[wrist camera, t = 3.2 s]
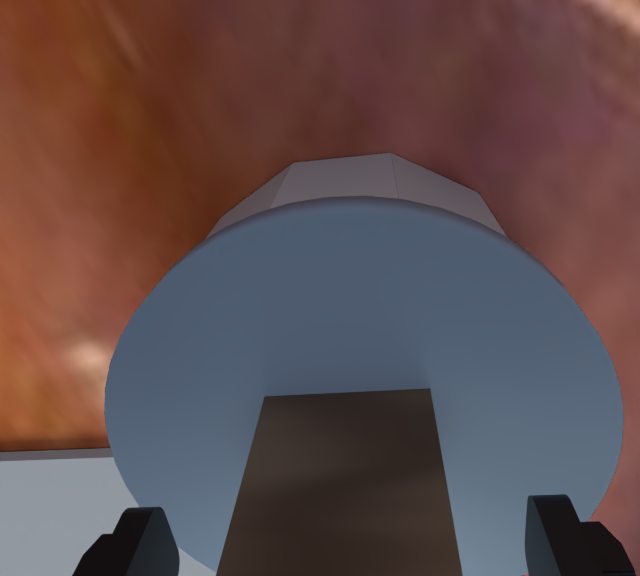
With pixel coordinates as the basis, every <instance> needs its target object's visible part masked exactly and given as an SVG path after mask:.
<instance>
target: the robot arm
mask: <svg viewBox="0 0 640 576" xmlns="http://www.w3.org/2000/svg"><path fill="white" fill-rule="evenodd" d="M524 545H525V557H526V563H527V568H528V572H529V576H636V574H635V570H634V568H633V566H632V564H631V562H630V560H629V558H628V556H627V554H626V552H625V550H624V548H623V546H622V544H621V543H620V542H619V541H618V540H617V539H616V538H615V537H614V536H613V535H612V534H611V533H610V532H609V531H608V530H607V529H606V528H605V527H604V526H603V525H602V524H601V523H600V522H580V520H579V518H578V516H577V513H576V511H575V509H574V506H573V504H572V502H571V500H570V498H569V497H568V496H567V495H566V494H556V495H529V496H528V499H527V512H526V527H525V544H524ZM179 564H180V558H179V551H178V548H177V545H176V542H175V539H174V537H173V534H172V531H171V528H170V526H169V523H168V520H167V517H166V515H165V512H164V510H163V508H161V507H134V508H127V509H126V510H125V511H124V512H123V513H122V515H121V517H120V519H119V521H118V523H117V525H116V527H115V529H114V531H113V533H112V534H102V535H101V536H100V537H99V538H98V539H97V540H96V541H95V542H94V543H93V545H92V546H91V547H90V548H89V549H88V550H87V551H86V552H85V553H84V554H83V556H82V558H81V559H80V561H79V563H78V565H77V567H76V569H75V571H74V573H73V575H72V576H178V574H179Z"/></svg>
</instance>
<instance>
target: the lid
mask: <svg viewBox="0 0 640 576" xmlns="http://www.w3.org/2000/svg"><path fill="white" fill-rule="evenodd" d="M104 415H105V422H106V429H107V436H108V441H109V444H110V448H111V451H112V454H113V458H114V461H115V464H116V466H117V468H118V470H119V472H120V474H121V477H122V479H123V481H124V483H125V485H126V487H127V488H128V490H129V491H130V493H131V494H132V496H133V498H134V499H135V501H136V502H137V504H138V505H139V507H161V508H163V510H164V512H165V515H166V517H167V520H168V523H169V526H170V528H171V531H172V534H173V537H174V539H175V542H176V545H177V546H178V547H179V548H180V549H182V550H183V551H184V552H186V553H187V554H188V555H190V556H191V557H192V558H193V559H195V560H196V561H198V562H200V563H201V564H203V565H204V566H206V567H208V568H209V569H211V570H213V571H214V572H216V576H522V575H524V574H526V573H528V568H527V563H526V557H525V545H524V544H525V527H526V512H527V499H528V496H529V495H556V494H566V495H567V496H568V497H569V498H570V500H571V502H572V504H573V506H574V509H575V511H576V513H577V516H578V518H579V520H580V522H587V521H588V520H589V519H590V517H591V516H592V514H593V513H594V511H595V509H596V508H597V506H598V505H599V503H600V502H601V500H602V499H603V497H604V495H605V493H606V491H607V489H608V486H609V484H610V482H611V480H612V477H613V475H614V473H615V470H616V466H617V462H618V458H619V454H620V450H621V447H622V435H623V423H624V416H623V406H622V396H621V389H620V386H619V382H618V379H617V375H616V372H615V369H614V365H613V362H612V360H611V358H610V356H609V354H608V352H607V350H606V348H605V346H604V344H603V342H602V340H601V338H600V336H599V334H598V332H597V331H596V329H595V328H594V327H593V325H592V324H591V323H590V321H589V320H588V319H587V317H586V316H585V314H584V313H583V312H582V310H581V309H580V308H579V306H578V305H577V304H576V302H575V301H574V300H573V298H572V297H571V296H570V294H569V293H568V292H567V290H566V289H565V287H564V286H563V285H562V283H561V282H560V281H559V280H558V279H557V278H556V277H555V276H554V275H553V274H552V273H551V272H550V271H549V270H548V269H547V268H546V267H545V266H544V265H543V264H542V263H541V262H540V261H539V260H538V259H537V258H535V257H534V256H533V255H531V254H530V253H529V252H527V251H526V250H524V249H523V248H522V247H520V246H519V245H518V244H516V243H515V242H514V241H512V240H511V239H509V238H508V237H506V236H504V235H502V234H500V233H498V232H497V231H495V230H493V229H491V228H489V227H487V226H485V225H483V224H482V223H480V222H478V221H476V220H473V219H470V218H468V217H465V216H462V215H459V214H457V213H454V212H451V211H449V210H446V209H443V208H440V207H436V206H431V205H427V204H422V203H418V202H414V201H409V200H405V199H395V198H385V197H375V196H339V197H324V198H317V199H311V200H305V201H299V202H292V203H288V204H285V205H282V206H278V207H275V208H272V209H268V210H265V211H261V212H258V213H255V214H253V215H251V216H249V217H246V218H244V219H242V220H240V221H237V222H235V223H233V224H231V225H229V226H226V227H224V228H223V229H221V230H220V231H218V232H216V233H215V234H213V235H212V236H210V237H209V238H207V239H205V240H204V241H202V242H201V243H199V244H197V245H196V246H195V247H194V248H193V249H191V250H190V251H189V252H188V253H187V254H186V255H185V256H183V257H182V258H181V259H180V260H179V261H178V262H176V263H175V264H174V265H173V266H172V267H171V268H170V270H169V271H168V272H167V273H166V274H165V276H164V277H163V278H162V279H161V280H160V281H159V283H158V284H157V285H156V286H155V287H154V289H153V290H152V291H151V292H150V294H149V295H148V296H147V297H146V299H145V300H144V301H143V302H142V304H141V305H140V306H139V307H138V309H137V310H136V311H135V313H134V314H133V316H132V318H131V319H130V321H129V323H128V324H127V326H126V328H125V329H124V331H123V333H122V334H121V336H120V339H119V341H118V344H117V346H116V349H115V351H114V354H113V357H112V359H111V362H110V366H109V371H108V376H107V381H106V386H105V412H104Z"/></svg>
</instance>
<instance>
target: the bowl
mask: <svg viewBox="0 0 640 576" xmlns="http://www.w3.org/2000/svg"><path fill="white" fill-rule="evenodd" d="M339 196H375V197H385V198H395V199H405V200H409V201H414V202H418V203H422V204H427V205H431V206H436V207H440V208H443V209H446V210H449V211H451V212H454V213H457V214H459V215H462V216H465V217H468V218H470V219H473V220H476V221H478V222H480V223H482V224H483V225H485V226H487V227H489V228H491V229H493V230H495V231H497V232H498V233H500V234H502V235H504V236H506V234H505V233H504V231H503V230H502V228H501V227H500V225H499V224H498V222H497V221H496V219H495V218H494V216H493V214H492V213H491V211H490V210H489V208H488V207H487V205H486V204H485V202H484V201H483V199H482V198H481V196H480V195H479V193H478V192H476V191H474V190H472V189H469V188H467V187H465V186H463V185H461V184H458V183H456V182H454V181H452V180H450V179H447V178H445V177H443V176H441V175H439V174H436V173H434V172H432V171H430V170H428V169H425V168H423V167H421V166H419V165H417V164H414V163H412V162H410V161H408V160H406V159H403V158H401V157H399V156H397V155H395V154H393V153H382V154H373V155H363V156H354V157H344V158H334V159H325V160H315V161H305V162H296V163H292V164H291V165H290V166H288V167H287V168H286V169H284V170H283V171H282V172H280V173H279V174H278V175H276V176H275V177H274V178H272V179H271V180H270V181H268V182H267V183H266V184H264V185H263V186H262V187H260V188H259V189H258V190H256V191H255V192H254V193H252V194H251V195H250V196H248V197H247V198H246V199H244V200H243V201H242V202H240V203H239V204H238V205H236V206H235V207H234V208H232V209H231V210H230V211H228V212H227V213H226V214H224V215H223V216H222V217H221V218H220V220H219V221H218V222H217V224H216V225H215V226H214V228H213V229H212V230H211V232H210V233H209V234H208V236H207V237H206V239H207V238H209V237H210V236H212V235H213V234H215V233H216V232H218V231H220V230H221V229H223V228H224V227H226V226H229V225H231V224H233V223H235V222H237V221H240V220H242V219H244V218H246V217H249V216H251V215H253V214H255V213H258V212H261V211H265V210H268V209H272V208H275V207H278V206H282V205H285V204H288V203H292V202H299V201H305V200H311V199H317V198H324V197H339ZM506 237H507V236H506Z"/></svg>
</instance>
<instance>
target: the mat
mask: <svg viewBox="0 0 640 576" xmlns="http://www.w3.org/2000/svg"><path fill="white" fill-rule="evenodd" d="M134 507H139V505H138V504H137V502H136V501H135V499H134V498H133V496H132V494H131V493H130V491H129V490H128V488H127V487H126V485H125V483H124V481H123V479H122V477H121V474H120V472H119V470H118V468H117V466H116V464H115V461H114V458H113V454H112V451H111V448H98V449H71V450H45V451H19V452H0V576H72V575H73V573H74V571H75V569H76V567H77V565H78V563H79V561H80V559H81V558H82V556H83V554H84V553H85V552H86V551H87V550H88V549H89V548H90V547H91V546H92V545H93V543H94V542H95V541H96V540H97V539H98V538H99V537H100V536H101V535H102V534H112V533H113V531H114V529H115V527H116V525H117V523H118V521H119V519H120V517H121V515H122V513H123V512H124V511H125V510H126V509H127V508H134ZM177 548H178V551H179V558H180V564H179V574H178V576H216V572H214V571H213V570H211V569H209V568H208V567H206V566H204V565H203V564H201V563H200V562H198V561H196V560H195V559H193V558H192V557H191V556H190V555H188V554H187V553H186V552H184V551H183V550H182V549H180V548H179V547H178V546H177Z"/></svg>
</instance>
